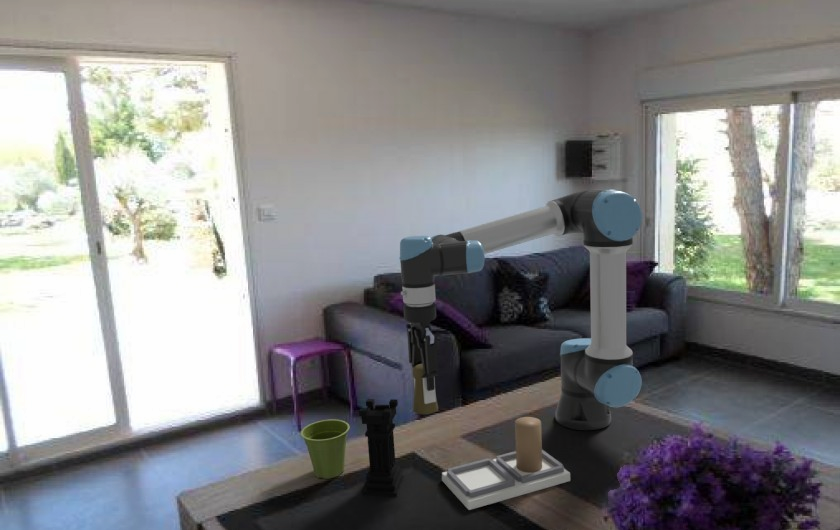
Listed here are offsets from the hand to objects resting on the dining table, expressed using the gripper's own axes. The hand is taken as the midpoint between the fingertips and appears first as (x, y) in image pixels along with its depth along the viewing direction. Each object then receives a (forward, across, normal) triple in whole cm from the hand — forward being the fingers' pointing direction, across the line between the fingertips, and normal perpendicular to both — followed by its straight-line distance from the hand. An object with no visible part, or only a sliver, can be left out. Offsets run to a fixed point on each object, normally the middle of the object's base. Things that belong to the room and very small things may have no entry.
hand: (425, 397), depth 146 cm
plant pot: (+19, -11, -22) cm, 31 cm away
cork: (+3, 0, 0) cm, 3 cm away
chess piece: (+19, +2, -12) cm, 23 cm away
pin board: (+19, +13, +14) cm, 26 cm away
